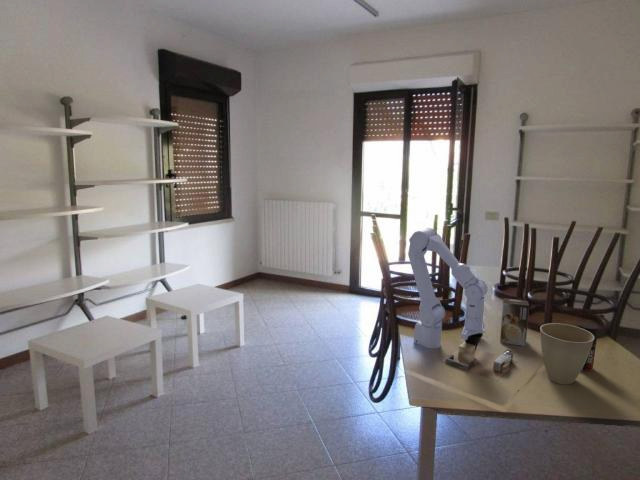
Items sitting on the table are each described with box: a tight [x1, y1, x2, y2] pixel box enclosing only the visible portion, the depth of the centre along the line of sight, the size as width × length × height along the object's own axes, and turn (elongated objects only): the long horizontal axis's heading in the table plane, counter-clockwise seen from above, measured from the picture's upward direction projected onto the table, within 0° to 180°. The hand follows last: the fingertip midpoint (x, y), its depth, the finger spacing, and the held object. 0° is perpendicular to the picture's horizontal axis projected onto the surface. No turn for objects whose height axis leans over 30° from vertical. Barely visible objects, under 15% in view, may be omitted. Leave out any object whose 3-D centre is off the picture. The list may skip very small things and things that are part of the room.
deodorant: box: [576, 321, 599, 372], centre depth 147 cm, size 6×6×15 cm
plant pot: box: [539, 322, 594, 385], centre depth 139 cm, size 15×15×16 cm
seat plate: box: [441, 348, 518, 382], centre depth 149 cm, size 19×18×4 cm
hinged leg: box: [493, 349, 514, 372], centre depth 146 cm, size 11×3×3 cm, turn 137°
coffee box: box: [499, 297, 530, 347], centre depth 167 cm, size 9×6×16 cm
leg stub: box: [458, 341, 475, 363], centre depth 150 cm, size 4×4×5 cm
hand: (471, 352), depth 153 cm, fingers closed
